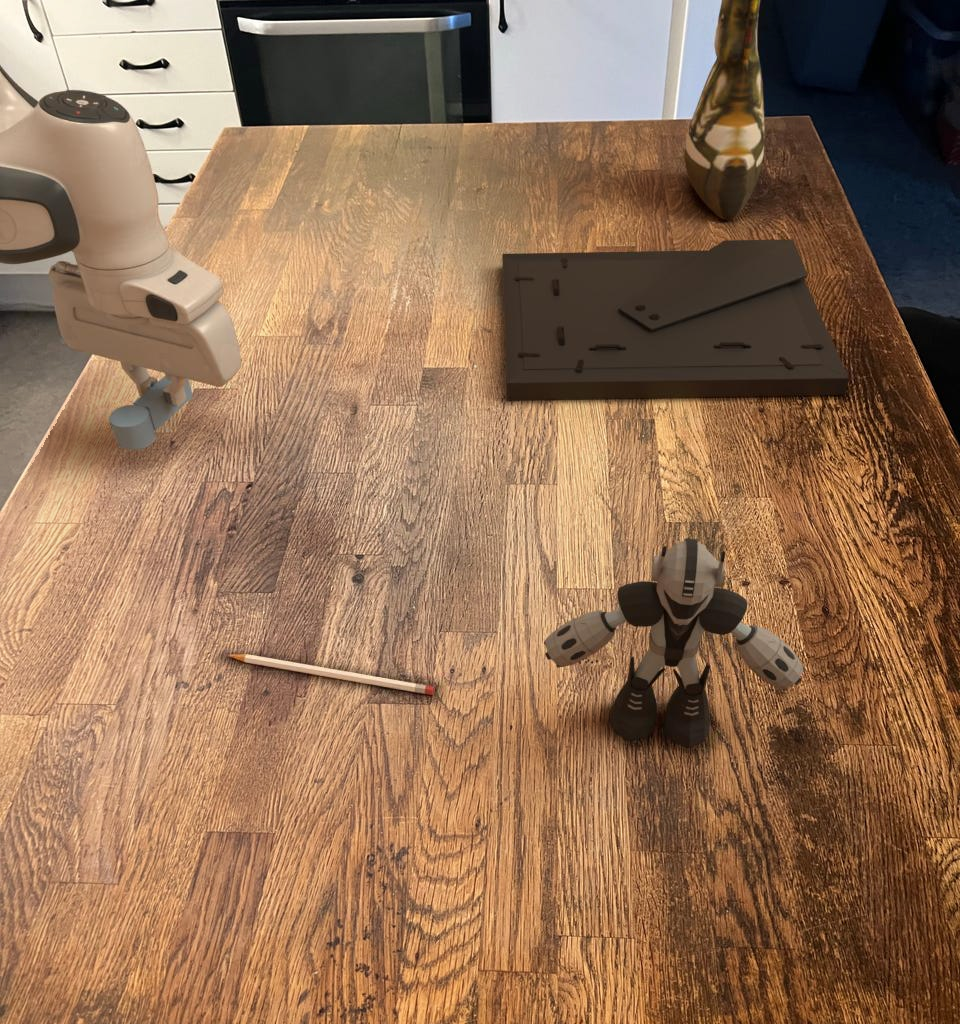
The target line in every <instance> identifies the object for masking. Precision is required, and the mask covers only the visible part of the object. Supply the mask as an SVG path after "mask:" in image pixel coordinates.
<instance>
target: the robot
mask: <svg viewBox="0 0 960 1024" xmlns="http://www.w3.org/2000/svg"><path fill="white" fill-rule="evenodd" d="M725 559H726V551H724V550H722V551H721V554H720V558H719V560H717V559H716V558H715V557H714V556H713V554H712V553H711V552H710V551H709V550H708V548H707V546H706V545H705V544H703V543H701V542H699V541H698V539H697V538H687V537H686V538H685V539H684V540H681V541H677V542H675V544H674V545H673V546H672V547H670V548H669V549H668V550H667V546H666V545H663V546H662V547H661V551H660V554H659V555H653V557H652V563H651V564H652V566H651V572H650V573H651V575H650V581H647V580H646V581H645V580H642V581H635V582H631V583H626V584H624V585H621V586H620V587H618V589H617V593H616V594H617V601H618V602H617V603H618V605H619V608H617V609H614V610H611V611H604V610H602V609H600V610H593V611H587V612H585V613H584V614H582V615H579V616H576V617H574V618H572V619H571V620H569V621H567V622H565V623H564V624H562V625H561V626H560V627H558V628H557V629H555V630H554V631H553V632H551V633H550V634H549V635H548V636H547V637H546V638H545V640H544V641H543V644H544V646H545V649H546V652H545V654H544V655H545V658H546V659H547V661H549V660H551V661H552V662H553V663H554V664H555V666H556V668H565V667H569V666H573V665H575V664H578V663H579V662H581V661H583V660H585V659H587V658H589V657H592V655H594V654H596V653H597V652H599V651H600V650H601V649H602V648H604V647H605V646H606V645H608V644H609V642H610V641H611V640H612V638H614V636H615V635H616V629H617V627H618V626H620V625H622V624H625V623H628V624H629V625H630V626H632V627H638V628H647V627H650V631H649V636H648V649H647V650H646V652H645V653H644V655H643V657H642V659H641V660H640V662H639V664H638V665H637V667H636V670H635V657H634V656H631V657H629V664H628V665H629V666H628V672H627V681H626V682H625V683H624V685H623V686H622V688H621V689H620V690H619V692H618V693H617V695H616V697H615V700H614V702H613V705H612V708H611V712H610V717H609V724H610V727H611V730H612V732H614V733H615V734H617V735H618V736H620V737H621V738H623V739H624V740H626V741H627V742H630V741H631V742H633V741H639V740H646V739H647V738H648V737H649V736H651V735H652V734H653V733H655V731H656V727H657V721H658V707H657V700H656V696H655V691H654V686H653V685H654V683H656V681H657V680H658V679H659V678H660V677H661V675H662V674H663V673H664V672H665V670H666V667H669V668H673V669H672V672H673V674H674V676H675V679H676V682H677V684H678V685H677V687H676V688H675V689H674V690H673V692H672V693H671V696H670V697H669V699H668V702H667V705H666V708H665V711H664V716H663V719H662V723H661V727H662V733H663V734H664V735H665V736H666V737H667V739H669V740H670V742H672V743H674V744H678V745H681V746H683V747H686V748H688V749H689V748H692V747H694V746H697V745H699V744H702V743H704V742H705V741H706V740H707V737H708V735H709V733H710V730H711V714H710V713H711V712H710V702H709V699H708V694H707V692H706V691H707V690H706V686H707V682H708V678H709V673H710V669H711V665H710V664H708V663H706V664H705V666H704V668H703V670H702V672H701V675H700V672H699V666H698V659H697V654H698V652H699V648H700V644H701V639H702V637H703V634H704V632H708V633H710V634H714V635H719V636H720V635H721V636H725V635H729V634H731V635H732V636H733V637H735V641H734V642H735V647H736V650H737V652H738V655H739V658H741V659H742V660H743V662H744V664H745V665H746V666H747V667H748V668H749V669H750V670H751V671H752V672H753V673H754V674H755V675H756V676H757V677H759V678H760V679H761V680H762V681H763V682H765V683H767V684H768V685H770V686H772V687H774V688H776V689H777V690H780V691H786V690H787V689H789V688H790V687H791V686H793V685H795V686H798V685H799V684H800V683H801V682H802V678H801V677H802V674H803V672H804V666H803V662H802V661H801V659H800V658H799V656H798V655H797V654H796V653H795V652H794V651H793V650H792V648H791V647H790V646H789V645H788V644H787V643H786V642H785V641H784V640H782V638H781V637H779V636H778V635H776V634H774V633H773V632H771V630H769V629H767V628H764V627H761V626H759V625H756V624H751V625H748V624H746V623H743V622H742V621H743V619H744V617H745V615H746V612H747V609H748V606H749V605H748V600H747V599H746V598H745V597H744V596H743V595H742V594H739V593H737V592H735V591H732V590H729V589H727V588H722V587H723V584H724V579H725V569H726V568H725V565H726V564H725ZM663 666H666V667H663ZM675 667H676V668H678V671H677V670H676V668H675ZM678 672H679V673H678Z"/></svg>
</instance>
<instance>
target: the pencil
mask: <svg viewBox="0 0 960 1024" xmlns="http://www.w3.org/2000/svg"><path fill="white" fill-rule="evenodd" d="M227 656H228V657H230V658H233V659H235V660H238V661H241V662H244V663H246V664H252V665H258V666H263V667H269V668H275V669H281V670H287V671H292V672H298V673H303V674H310V675H313V676H314V675H315V676H321V677H325V678H326V677H327V678H331V679H336V680H337V679H338V680H342V681H343V680H344V681H349V682H355V683H359V684H365V685H370V686H371V685H372V686H376V687H382V688H389V689H395V690H400V691H406V692H411V693H416V694H417V693H418V694H423V695H429V696H433V695H434V693H435V686H432V685H427V684H421V683H415V682H409V681H403V680H398V679H392V678H386V677H380V676H375V675H369V674H363V673H357V672H352V671H346V670H341V669H334V668H328V667H323V666H316V665H311V664H305V663H300V662H294V661H288V660H282V659H276V658H271V657H266V656H260V655H254V654H249V653H237V654H227Z"/></svg>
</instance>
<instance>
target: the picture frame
mask: <svg viewBox="0 0 960 1024" xmlns="http://www.w3.org/2000/svg"><path fill="white" fill-rule="evenodd" d="M501 257H502V258H501V259H502V261H501V262H502V263H501V264H502V265H501V266H502V267H501V268H502V269H501V270H502V292H503V294H502V295H503V298H502V299H503V320H504V321H503V323H504V324H503V325H504V326H503V327H504V330H503V331H504V357H505V359H504V360H505V385H506V400H507V401H550V400H551V401H553V400H558V401H559V400H621V399H622V400H624V399H625V400H626V399H627V400H629V399H686V398H688V399H690V398H693V399H694V398H698V399H699V398H757V397H759V398H761V397H763V398H765V397H822V396H824V397H825V396H827V397H828V396H830V397H831V396H832V397H833V396H834V397H835V396H844V395H846V391H847V388H848V384H849V380H850V376H849V374H848V372H847V370H846V367H845V366H844V364H843V362H842V361H843V360H842V359H841V358H840V354H839V352H838V350H837V348H836V345H835V343H834V341H833V339H832V337H831V335H830V333H829V330H828V328H827V326H826V324H825V321H824V320H823V317H822V314H821V313H820V310H819V308H818V306H817V304H816V301H815V299H814V297H813V295H812V293H811V290H810V288H809V286H808V284H807V282H806V278H808V276H809V275H808V272H807V270H806V266H805V265H804V262H803V260H802V257H801V255H800V253H799V250H798V248H797V244H796V243H795V241H794V239H793V238H783V239H781V238H780V239H779V238H778V239H777V238H776V239H738V240H737V239H732V240H731V239H729V240H728V239H727V240H723V241H721V242H719V243H718V244H716V245H714V246H713V247H711V248H710V249H707V250H706V249H705V250H703V249H702V250H700V249H699V250H655V251H654V250H649V251H647V250H646V251H644V250H643V251H641V250H639V251H589V252H588V251H587V252H585V251H583V252H581V251H579V252H530V253H529V252H528V253H520V252H519V253H502V256H501Z"/></svg>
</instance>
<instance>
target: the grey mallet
mask: <svg viewBox="0 0 960 1024" xmlns="http://www.w3.org/2000/svg"><path fill="white" fill-rule="evenodd" d="M170 384H171V381H170V380H167V379H166V375H163V376H162V378H160V379H159V380H158V382H157V383H156V384H155V385H154V386H152V387H151V388H150V389H149V390H148V391H147V392H145V393H144V394H143V395H142V396H139V397H138V398H137V399H136V400H135V401H134V402H133V403H132V404H126V405H122V406H120V407H118V408H116V409H115V410H113V411H112V412H110V414H109V418H108V420H109V423H110V427H111V430H112V433H113V435H114V439H115V442H116V445H117V446H118V447H119V448H120V449H122V450H124V451H132V452H133V451H140V450H143V449H146V448H148V447H149V446H151V445H152V444H153V443H154V442H155V441H156V437H157V435H156V431H158V430H159V429H160V428H161V427H162V426H163V425H164V424H165V423H166V422H167V421H168V420H169V419H171V418H172V417H174V415H175V414H176V413H178V412H179V411H180V409H182V408H183V407H184V406H185V405H186V404H187V403H188V402H190V401H191V400H192V399H193V398H194V394H193V392H192V387H191V383H190V379H187V380H186V382H185V385H184V390H185V394H186V400H185V402H184V403H183V404H181V405H180V406H174V405H171V404H167V403H166V402H165V397H164V395H163V392H162V391H163V390H164V389H165V388H167V387H168V385H170Z"/></svg>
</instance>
